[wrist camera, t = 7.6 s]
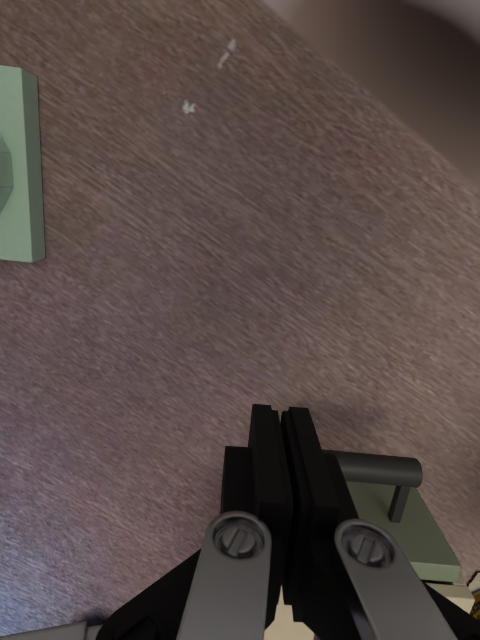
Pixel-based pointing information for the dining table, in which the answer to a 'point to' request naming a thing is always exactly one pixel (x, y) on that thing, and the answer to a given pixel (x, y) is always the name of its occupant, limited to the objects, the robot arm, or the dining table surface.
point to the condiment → (475, 596)
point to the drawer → (399, 510)
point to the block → (20, 168)
